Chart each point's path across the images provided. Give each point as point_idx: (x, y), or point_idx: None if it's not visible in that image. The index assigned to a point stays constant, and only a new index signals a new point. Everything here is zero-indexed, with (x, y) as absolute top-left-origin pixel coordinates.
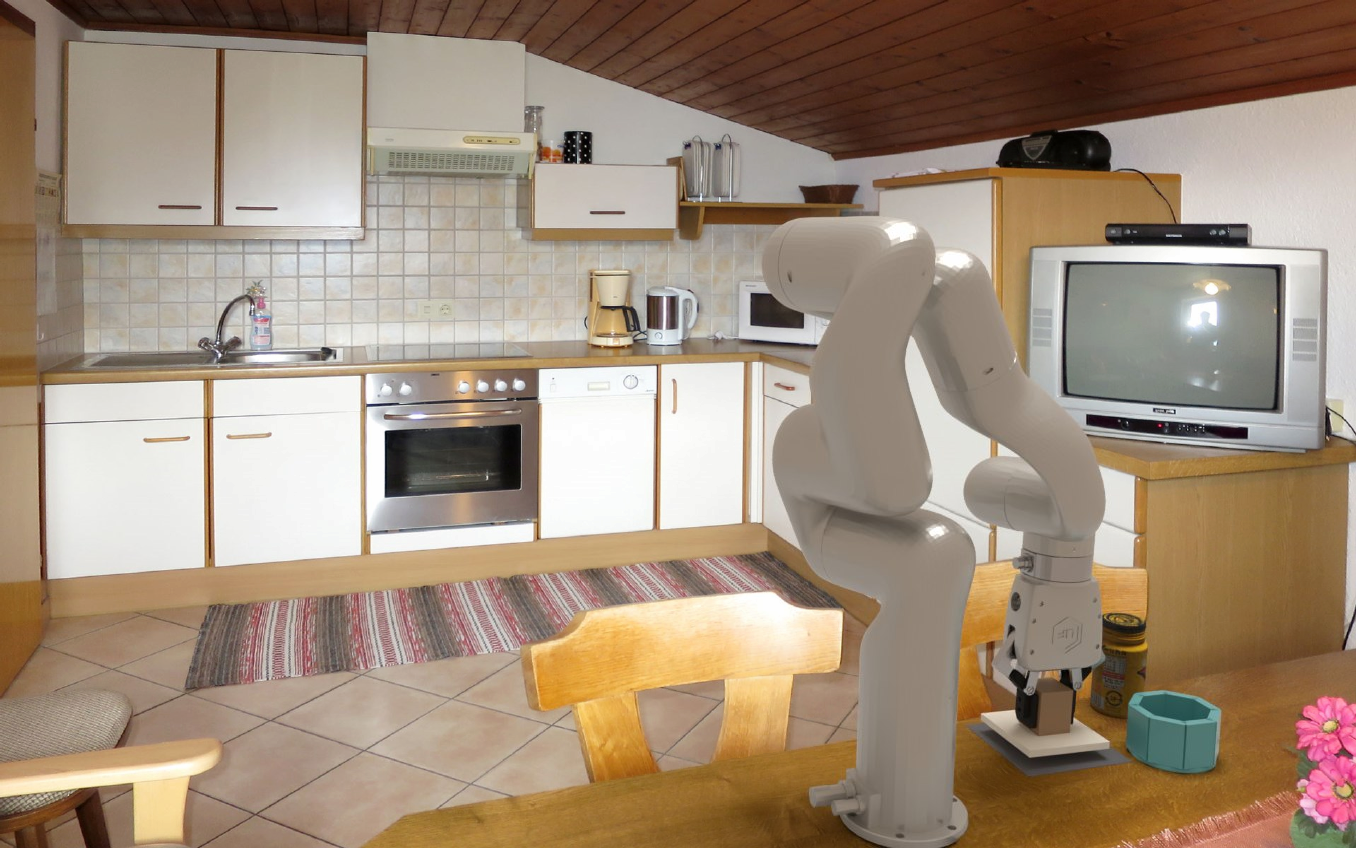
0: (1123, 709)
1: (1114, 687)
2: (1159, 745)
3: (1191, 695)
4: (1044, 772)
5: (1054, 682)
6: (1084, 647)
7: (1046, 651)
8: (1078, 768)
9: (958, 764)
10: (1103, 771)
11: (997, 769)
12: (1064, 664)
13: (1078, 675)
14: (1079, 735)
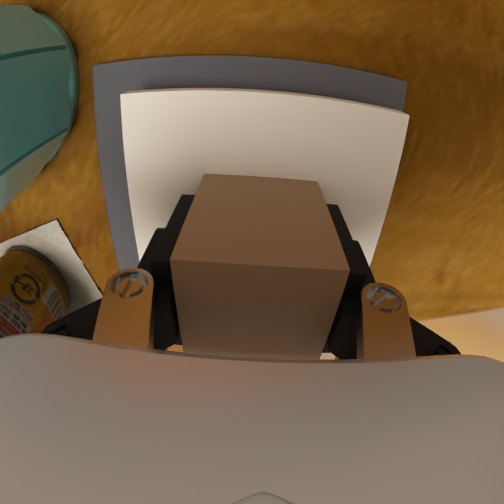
0: (21, 264)
1: (15, 306)
2: (24, 31)
3: None
4: (358, 78)
5: (206, 335)
6: (44, 485)
7: (463, 488)
8: (255, 61)
9: (461, 202)
10: (182, 52)
11: (420, 154)
12: (264, 391)
13: (114, 321)
14: (185, 151)
